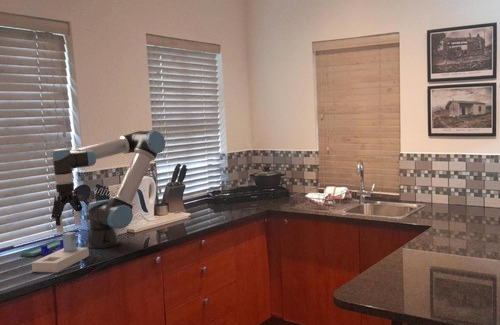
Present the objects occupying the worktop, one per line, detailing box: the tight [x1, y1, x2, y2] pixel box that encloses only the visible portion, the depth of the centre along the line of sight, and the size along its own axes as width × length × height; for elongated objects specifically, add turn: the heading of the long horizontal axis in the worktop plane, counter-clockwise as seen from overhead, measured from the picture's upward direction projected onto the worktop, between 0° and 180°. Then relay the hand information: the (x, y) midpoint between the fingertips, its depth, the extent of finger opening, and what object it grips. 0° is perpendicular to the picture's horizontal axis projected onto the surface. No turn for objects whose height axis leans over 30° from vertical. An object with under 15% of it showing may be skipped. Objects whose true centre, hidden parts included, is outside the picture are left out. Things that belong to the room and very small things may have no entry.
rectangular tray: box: [19, 239, 61, 258], centre depth 249 cm, size 26×9×2 cm, turn 162°
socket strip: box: [31, 247, 90, 274], centre depth 218 cm, size 24×12×5 cm, turn 166°
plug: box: [62, 231, 77, 252], centre depth 224 cm, size 4×5×12 cm
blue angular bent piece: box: [40, 239, 64, 257], centre depth 238 cm, size 12×4×6 cm, turn 143°
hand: (69, 228), depth 224 cm, fingers open, 13 cm apart
